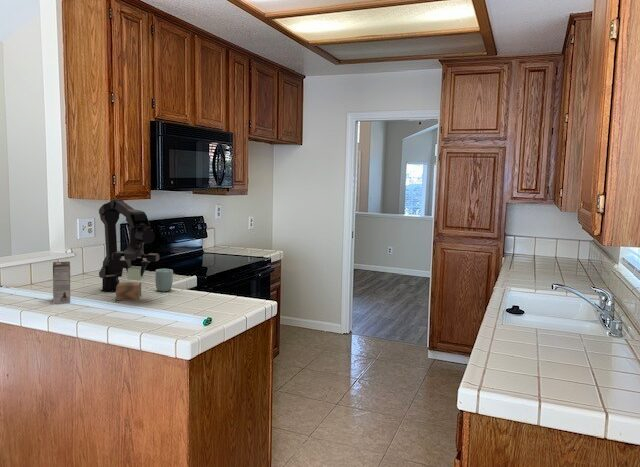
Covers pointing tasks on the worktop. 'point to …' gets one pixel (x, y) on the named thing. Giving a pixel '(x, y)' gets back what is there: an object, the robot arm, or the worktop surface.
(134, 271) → the green cube
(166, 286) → the cup
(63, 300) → the coffee box
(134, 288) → the walnut block
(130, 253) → the robot arm
